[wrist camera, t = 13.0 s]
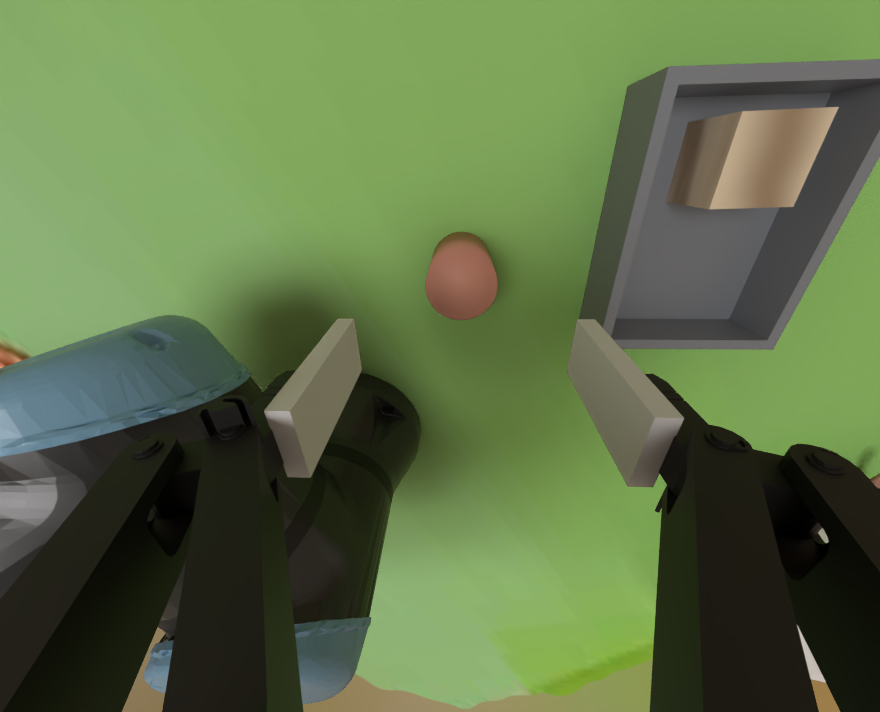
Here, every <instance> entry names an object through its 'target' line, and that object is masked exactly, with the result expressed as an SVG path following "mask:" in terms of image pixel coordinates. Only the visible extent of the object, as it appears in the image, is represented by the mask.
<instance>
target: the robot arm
mask: <svg viewBox="0 0 880 712" xmlns="http://www.w3.org/2000/svg"><path fill="white" fill-rule="evenodd" d="M361 371H362V366H361V360H360V353H359V347H358V341H357V335H356V328H355V322H354V319H337V320H336V321H335V323H334V324H333V325H332V326H331V328H330V329H329V330H328V331H327V333H326V334H325V335H324V336H323V338H322V339H321V340H320V341H319V343H318V344H317V345H316V346H315V348H314V349H313V350H312V351H311V353H310V354H309V355H308V356H307V358H306V359H305V360H304V361H303V363H302V364H301V365H300V366H299V368H298V369H297V370H296V371H286V372H284V373H283V374H281V375H280V376H278V377H277V378H275V379H274V380H273V381H272V383H271V384H270V385H269V386H268V389H265V391H264V392H262V390H261V389H260V388H259V387H258V385H257V384H256V383H255V382H254V380H253V379H252V378H251V377H250V375H251V374H250V373H249V371H248V369H247V368H246V366H245V365H243V364H242V363H239V362H237V361H236V360H235V359H234V357H233V356H232V355H231V354H230V353H229V352H228V351H227V350H226V348H225V347H224V346H223V345H222V344H221V343H220V342H219V341H218V340H217V338H216V337H215V336H214V335H213V334H212V333H211V332H210V331H209V330H208V329H207V328H206V327H205V326H204V325H202V324H201V323H199V322H197V321H195V320H193V319H191V318H187V317H183V316H175V315H165V316H159V317H155V318H151V319H147V320H144V321H140V322H137V323H134V324H131V325H127V326H124V327H121V328H118V329H115V330H112V331H109V332H106V333H103V334H100V335H97V336H94V337H91V338H88V339H84V340H82V341H79V342H76V343H73V344H70V345H67V346H64V347H61V348H58V349H55V350H52V351H49V352H46V353H43V354H40V355H37V356H34V357H31V358H28V359H26V360H23V361H20V362H17V363H14V364H12V365H9V366H6V367H3V368H1V369H0V712H122V710H123V707H124V705H125V703H126V700H127V698H128V695H129V693H130V691H131V688H132V686H133V684H134V681H135V679H136V677H137V674H138V672H139V669H140V667H141V665H142V662H143V660H144V658H145V655H146V653H147V651H148V648H149V646H150V643H151V641H152V639H153V636H154V634H155V631H156V629H157V627H159V628H160V629H162V630H163V631H164V632H165V633H166V634H165V635H164V636H163V638H162V639H161V641H160V642H159V643H157V644H155V646H154V647H153V649H152V650H151V652H150V656H151V657H150V660H149V663H148V665H147V667H146V669H145V672H144V678H145V681H146V682H147V683H149V685H150V687H152V688H153V689H155V690H157V691H159V692H162V693H165V698H164V704H163V711H162V712H303V704H309V703H315V702H320V701H324V700H327V699H329V698H331V697H333V696H335V695H336V694H338V693H339V692H341V691H342V690H343V689H344V688H345V687H346V686H347V685H348V683H349V682H350V681H351V680H352V678H353V676H354V674H355V671H356V669H357V665H358V662H359V658H360V654H361V651H362V647H363V644H364V640H365V637H366V633H367V630H368V627H369V626H370V623H371V617H369V615H370V610H371V605H372V600H373V595H374V589H375V584H376V579H377V574H378V569H379V564H380V559H381V554H382V549H383V543H384V538H385V533H386V528H387V523H388V518H389V513H390V507H391V502H392V497H393V493H394V491H395V490H396V488H397V486H398V485H399V483H400V482H401V480H402V478H403V477H404V475H405V473H406V472H407V470H408V469H409V467H410V465H411V464H412V462H413V460H414V458H415V456H416V453H417V450H418V445H419V438H420V422H419V418H418V415H417V413H416V411H415V409H414V407H413V405H412V404H411V403H410V401H409V400H408V399H407V398H406V397H405V396H404V395H403V394H402V393H401V392H400V391H399V390H397V389H396V388H395V387H393V386H392V385H390V384H388V383H387V382H385V381H383V380H380V379H378V378H376V377H373V376H369V375H366V374H361ZM567 374H568V375H569V377H570V379H571V381H572V383H573V385H574V387H575V389H576V390H577V392H578V394H579V396H580V398H581V400H582V402H583V404H584V405H585V407H586V409H587V411H588V413H589V415H590V417H591V419H592V420H593V422H594V424H595V426H596V428H597V430H598V432H599V434H600V435H601V437H602V439H603V441H604V443H605V445H606V447H607V449H608V450H609V452H610V454H611V456H612V458H613V460H614V462H615V464H616V465H617V467H618V469H619V471H620V473H621V475H622V477H623V479H624V480H625V482H626V484H627V486H630V487H653V486H654V484H655V482H656V480H657V478H658V475H659V473H660V475H661V476H662V478H663V479H664V481H665V482H666V484H667V486H666V488H665V490H664V492H663V494H662V496H661V499H660V501H659V503H658V505H657V507H656V509H655V511H656V512H660V510H661V508H662V515H661V531H660V548H659V565H658V582H657V599H656V615H655V632H654V649H653V666H652V684H651V700H650V712H819V711H818V707H817V703H816V699H815V695H814V691H813V687H812V683H811V679H810V675H809V671H808V667H807V663H806V659H805V655H804V651H803V647H802V643H801V639H800V635H799V631H798V627H799V629H800V631H801V633H802V635H803V637H804V639H805V641H806V643H807V645H808V647H809V649H810V651H811V653H812V655H813V657H814V659H815V661H816V663H817V665H818V667H819V669H820V671H821V673H822V675H823V677H824V679H825V681H826V683H827V685H828V687H829V689H830V691H831V693H832V695H833V697H834V699H835V701H836V703H837V705H838V707H839V710H840V712H880V490H879V489H878V488H877V487H876V486H875V485H874V484H873V483H872V482H871V481H870V479H869V478H868V477H867V476H866V475H865V474H864V473H863V472H862V471H861V470H860V469H859V468H857V467H856V466H855V465H854V464H853V463H851V462H850V461H848V460H847V459H845V458H843V457H841V456H840V455H838V454H837V453H834V452H832V451H829V450H827V449H824V448H821V447H816V446H812V445H807V444H796V445H792V446H791V447H790V448H789V450H788V451H787V452H786V454H785V455H784V456H781V455H776V454H771V453H767V452H762V451H758V450H753V449H752V447H751V445H750V444H749V443H748V442H747V441H746V440H745V439H744V438H742V437H741V436H739V435H737V434H736V433H734V432H732V431H730V430H727V429H724V428H722V427H718V426H713V425H708V424H707V423H706V422H705V420H704V419H703V418H702V417H701V416H700V415H699V414H698V413H697V412H696V411H695V410H694V409H693V408H692V407H691V406H690V405H689V404H688V403H687V402H686V401H683V398H682V397H681V396H680V395H679V394H678V393H676V391H675V390H674V389H673V388H672V387H671V386H670V385H669V384H668V383H667V382H666V381H664V380H663V379H661V378H659V377H658V376H656V375H654V374H644V373H643V372H642V371H641V370H640V369H639V367H638V366H637V365H636V364H635V363H634V362H633V361H632V360H631V359H630V358H629V356H628V355H627V354H626V353H625V352H624V351H623V350H622V349H621V348H620V346H619V345H618V344H617V343H616V342H615V341H614V340H613V339H612V338H611V337H610V335H609V334H608V333H607V332H606V331H605V330H604V329H603V328H602V327H601V326H600V324H599V323H598V322H597V321H596V320H595V319H577V323H576V328H575V333H574V338H573V343H572V347H571V352H570V357H569V362H568V367H567ZM822 528H823V530H824V531H825V533H826V535H827V537H828V541H829V542H828V543H825V542H824V541H823V539H822V538H821V537H820V535H819V534H818V532H819V531H820V530H821V529H822ZM797 625H798V627H797Z"/></svg>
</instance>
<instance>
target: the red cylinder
mask: <svg viewBox="0 0 880 712" xmlns="http://www.w3.org/2000/svg"><path fill="white" fill-rule="evenodd" d="M497 289H498V279H497V275H496V272H495V269H494V266H493V263H492V260H491V258H490V255H489V252H488V250H487V247H486V245H485V244H484V243H483V241H482V240H481V239H480V238H478V237H477V236H475V235H473V234H471V233H467V232H456V233H452V234H450V235H448V236H446V237H445V238H443V239H442V240H441V241H440V242H439V243H438V245H437V246H436V248H435V250H434V254H433V257H432V260H431V264H430V267H429V271H428V274H427V278H426V293H427V297H428V299H429V301H430V303H431V305H432V306H433V307H434V308H435V309H436V311H438V312H439V313H440V314H442V315H443V316H445V317H448V318H451V319H455V320H467V319H472V318H475V317H477V316H479V315H481V314H482V313H484V312H485V311H486V310H487V309H488V308H489V307H490V306H491V304H492V303H493V301H494V299H495V297H496V294H497Z"/></svg>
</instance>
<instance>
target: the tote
mask: <svg viewBox="0 0 880 712" xmlns="http://www.w3.org/2000/svg"><path fill="white" fill-rule="evenodd" d="M825 107H839V108H838V110H837V112H836V114H835V117H834V119H833V121H832V123H831V125H830V128H829V130H828V132H827V134H826V136H825V138H824V141H823V143H822V145H821V147H820V149H819V152H818V154H817V156H816V158H815V160H814V163H813V165H812V167H811V169H810V171H809V174H808V176H807V178H806V180H805V182H804V185H803V187H802V189H801V191H800V193H799V196H798V198H797V200H796V202H795V204H794V207H772V208H739V209H704V208H698V207H692V206H685V205H679V204H673V203H667V202H666V200H667V196H668V192H669V189H670V185H671V182H672V178H673V174H674V171H675V167H676V164H677V160H678V156H679V153H680V149H681V146H682V142H683V138H684V135H685V131H686V128H687V124H688V122H692V121H697V120H702V119H707V118H712V117H717V116H722V115H727V114H732V113H737V112H742V111H760V110H782V109H803V108H825ZM879 157H880V59H873V60H844V61H815V62H786V63H757V64H728V65H699V66H671V67H667V68H665V69H662V70H660V71H658V72H656V73H654V74H652V75H650V76H648V77H646V78H644V79H642V80H640V81H638V82H636V83H633V84H631V85H629V86H628V88H627V93H626V97H625V102H624V107H623V112H622V117H621V121H620V126H619V131H618V136H617V141H616V145H615V150H614V155H613V160H612V165H611V169H610V174H609V179H608V184H607V189H606V193H605V198H604V203H603V208H602V213H601V217H600V222H599V227H598V232H597V237H596V241H595V246H594V251H593V256H592V261H591V265H590V270H589V275H588V280H587V285H586V289H585V294H584V299H583V304H582V309H581V313H580V318H579V319H595V320H596V321H597V322H598V323H599V324H600V326H601V327H602V328H603V329H604V330H605V331H606V332H607V333H608V334H609V335H610V337H611V338H612V339H613V340H614V341H615V342H616V343H617V344H618V345H619V346H620V348H630V349H768V350H773V349H774V347H775V345H776V343H777V342H778V340H779V338H780V336H781V334H782V332H783V331H784V329H785V327H786V325H787V323H788V322H789V320H790V318H791V316H792V314H793V313H794V311H795V309H796V307H797V305H798V303H799V302H800V300H801V298H802V296H803V294H804V293H805V291H806V289H807V287H808V285H809V284H810V282H811V280H812V278H813V276H814V274H815V273H816V271H817V269H818V267H819V265H820V264H821V262H822V260H823V258H824V256H825V255H826V253H827V251H828V249H829V247H830V245H831V244H832V242H833V240H834V238H835V236H836V235H837V233H838V231H839V229H840V227H841V226H842V224H843V222H844V220H845V218H846V216H847V215H848V213H849V211H850V209H851V207H852V206H853V204H854V202H855V200H856V198H857V197H858V195H859V193H860V191H861V189H862V187H863V186H864V184H865V182H866V180H867V178H868V177H869V175H870V173H871V171H872V169H873V168H874V166H875V164H876V162H877V160H878V158H879Z"/></svg>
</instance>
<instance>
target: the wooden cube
mask: <svg viewBox="0 0 880 712" xmlns="http://www.w3.org/2000/svg"><path fill="white" fill-rule="evenodd" d="M838 108H839V107H825V108H803V109H782V110H760V111H742V112H737V113H732V114H727V115H722V116H717V117H712V118H707V119H702V120H697V121H692V122H688V124H687V128H686V131H685V135H684V138H683V142H682V146H681V149H680V153H679V156H678V160H677V164H676V167H675V171H674V174H673V178H672V182H671V185H670V189H669V192H668V196H667V200H666V202H667V203H673V204H679V205H685V206H692V207H698V208H704V209H739V208H772V207H794V204H795V202H796V200H797V198H798V196H799V193H800V191H801V189H802V187H803V185H804V182H805V180H806V178H807V176H808V174H809V171H810V169H811V167H812V165H813V163H814V160H815V158H816V156H817V154H818V152H819V149H820V147H821V145H822V143H823V141H824V138H825V136H826V134H827V132H828V130H829V128H830V125H831V123H832V121H833V119H834V117H835V114H836V112H837V110H838Z"/></svg>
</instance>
